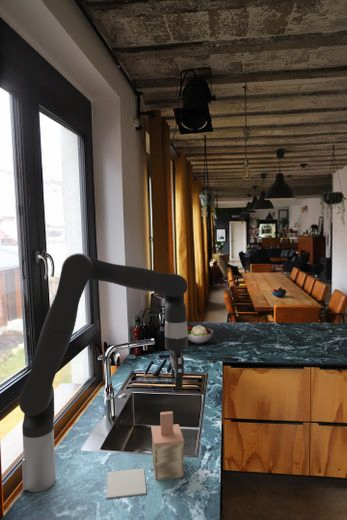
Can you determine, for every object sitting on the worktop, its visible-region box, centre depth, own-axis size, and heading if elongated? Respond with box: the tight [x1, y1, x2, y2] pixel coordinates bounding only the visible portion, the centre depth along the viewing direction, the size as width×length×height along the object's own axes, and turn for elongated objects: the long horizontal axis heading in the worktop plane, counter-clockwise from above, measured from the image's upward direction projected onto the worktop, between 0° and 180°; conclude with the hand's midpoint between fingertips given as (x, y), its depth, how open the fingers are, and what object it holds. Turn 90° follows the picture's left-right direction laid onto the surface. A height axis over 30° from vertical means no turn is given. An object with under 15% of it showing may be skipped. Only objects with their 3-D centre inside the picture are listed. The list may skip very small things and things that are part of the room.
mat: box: [105, 468, 147, 500], centre depth 116 cm, size 12×12×1 cm
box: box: [151, 436, 185, 481], centre depth 122 cm, size 9×10×11 cm
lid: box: [150, 410, 185, 447], centre depth 122 cm, size 10×11×9 cm
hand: (176, 382), depth 122 cm, fingers open, 8 cm apart
